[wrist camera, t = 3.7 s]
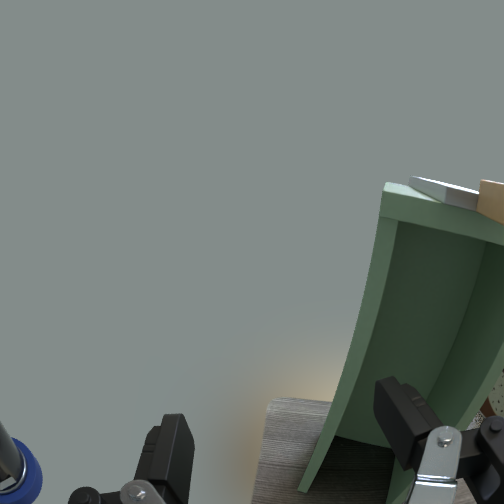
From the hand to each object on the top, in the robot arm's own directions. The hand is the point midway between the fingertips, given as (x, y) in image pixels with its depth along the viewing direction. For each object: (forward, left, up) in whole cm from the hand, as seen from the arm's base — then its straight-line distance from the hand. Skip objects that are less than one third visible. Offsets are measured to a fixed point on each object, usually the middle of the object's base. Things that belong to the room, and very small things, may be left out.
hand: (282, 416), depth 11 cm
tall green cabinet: (+15, +7, -24) cm, 29 cm away
